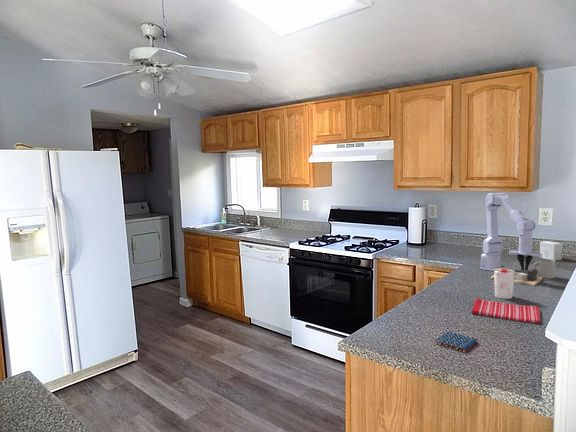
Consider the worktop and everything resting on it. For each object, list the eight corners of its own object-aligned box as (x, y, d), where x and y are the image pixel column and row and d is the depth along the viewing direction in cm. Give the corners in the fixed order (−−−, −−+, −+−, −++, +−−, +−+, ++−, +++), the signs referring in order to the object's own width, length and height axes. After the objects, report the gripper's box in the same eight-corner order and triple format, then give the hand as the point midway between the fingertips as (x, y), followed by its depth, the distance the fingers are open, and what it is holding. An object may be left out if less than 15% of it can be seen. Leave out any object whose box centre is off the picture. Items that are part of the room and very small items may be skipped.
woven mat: (447, 335, 138) (447, 329, 138) (478, 344, 131) (479, 338, 130) (433, 344, 131) (433, 339, 131) (465, 354, 124) (466, 348, 123)
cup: (554, 279, 201) (555, 262, 200) (531, 277, 207) (532, 260, 206) (555, 276, 207) (556, 259, 206) (533, 274, 213) (533, 257, 212)
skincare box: (562, 260, 243) (562, 243, 242) (553, 260, 241) (554, 244, 240) (547, 256, 253) (548, 240, 252) (539, 257, 251) (539, 241, 250)
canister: (505, 300, 171) (506, 274, 170) (487, 295, 179) (488, 270, 177) (519, 297, 176) (520, 270, 174) (501, 292, 183) (502, 267, 182)
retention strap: (498, 271, 208) (498, 267, 208) (500, 270, 210) (500, 266, 210) (532, 275, 197) (532, 270, 197) (534, 273, 199) (533, 269, 199)
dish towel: (475, 303, 171) (475, 297, 171) (540, 311, 159) (540, 305, 158) (470, 315, 157) (470, 309, 156) (540, 326, 144) (540, 319, 144)
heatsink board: (490, 279, 205) (490, 268, 205) (500, 273, 216) (500, 262, 216) (534, 286, 191) (534, 274, 190) (542, 279, 202) (543, 268, 202)
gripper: (507, 243, 201) (506, 269, 203) (539, 246, 191) (538, 273, 193) (511, 241, 206) (510, 266, 208) (543, 244, 196) (542, 270, 197)
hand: (524, 269), depth 200 cm, fingers closed on retention strap
